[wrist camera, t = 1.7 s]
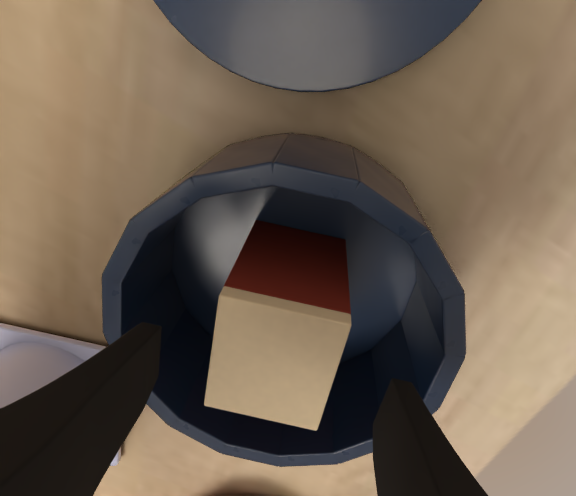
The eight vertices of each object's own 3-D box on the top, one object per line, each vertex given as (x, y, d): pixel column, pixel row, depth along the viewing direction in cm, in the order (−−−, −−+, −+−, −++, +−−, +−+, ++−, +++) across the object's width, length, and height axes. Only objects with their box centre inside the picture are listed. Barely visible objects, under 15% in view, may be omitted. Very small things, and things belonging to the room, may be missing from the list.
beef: (321, 323, 19) (317, 431, 14) (241, 305, 19) (203, 406, 14) (346, 239, 17) (352, 325, 12) (255, 219, 17) (218, 295, 12)
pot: (382, 393, 21) (396, 494, 16) (156, 342, 21) (103, 427, 16) (473, 169, 16) (536, 219, 11) (170, 104, 16) (98, 123, 11)
